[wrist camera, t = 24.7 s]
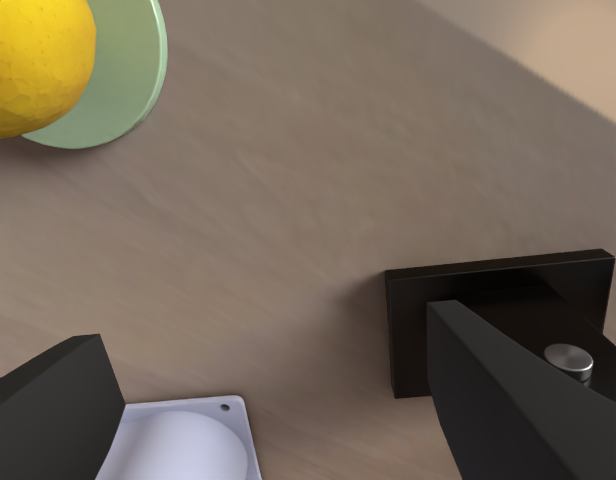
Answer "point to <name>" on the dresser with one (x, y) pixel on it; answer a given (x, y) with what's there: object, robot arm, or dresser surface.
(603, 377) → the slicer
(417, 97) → the dresser surface
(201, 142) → the dresser surface
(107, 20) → the plate
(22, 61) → the apple
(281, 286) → the dresser surface
